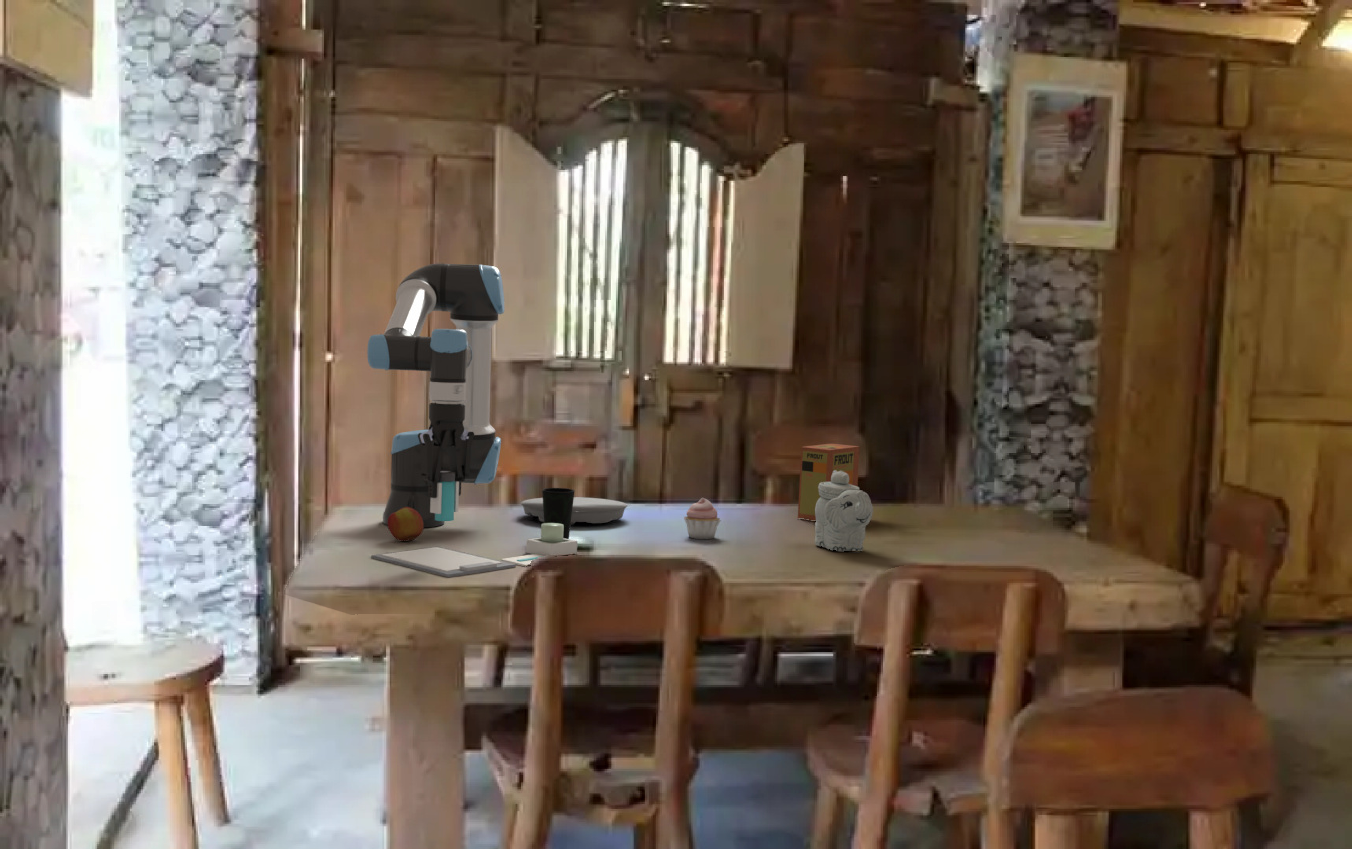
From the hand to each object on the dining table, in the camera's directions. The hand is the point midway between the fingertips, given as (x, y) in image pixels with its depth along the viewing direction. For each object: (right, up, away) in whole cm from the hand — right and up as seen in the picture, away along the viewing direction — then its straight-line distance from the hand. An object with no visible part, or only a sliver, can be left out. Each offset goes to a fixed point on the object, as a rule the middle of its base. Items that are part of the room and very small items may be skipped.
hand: (444, 511), depth 282 cm
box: (+91, -8, +87) cm, 126 cm away
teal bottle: (0, -2, 0) cm, 2 cm away
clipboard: (0, -11, +1) cm, 11 cm away
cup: (+21, -9, +34) cm, 41 cm away
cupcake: (+55, -10, +46) cm, 73 cm away
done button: (+21, -8, +16) cm, 28 cm away
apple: (-13, -9, +24) cm, 29 cm away
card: (+18, -11, +6) cm, 22 cm away
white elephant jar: (+89, -12, +37) cm, 97 cm away
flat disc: (+22, -7, +66) cm, 70 cm away
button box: (+21, -10, +17) cm, 29 cm away
